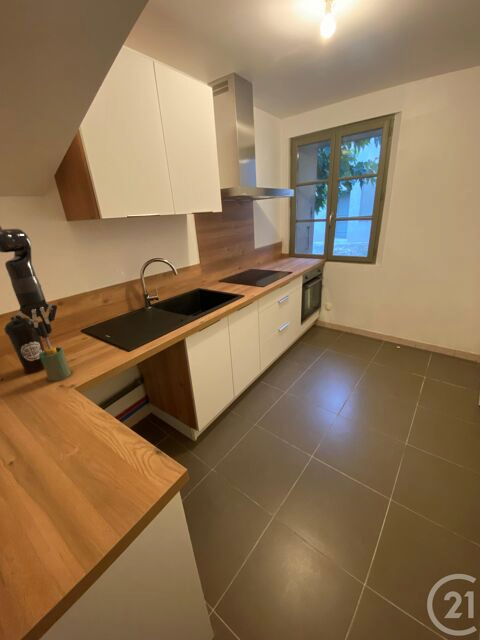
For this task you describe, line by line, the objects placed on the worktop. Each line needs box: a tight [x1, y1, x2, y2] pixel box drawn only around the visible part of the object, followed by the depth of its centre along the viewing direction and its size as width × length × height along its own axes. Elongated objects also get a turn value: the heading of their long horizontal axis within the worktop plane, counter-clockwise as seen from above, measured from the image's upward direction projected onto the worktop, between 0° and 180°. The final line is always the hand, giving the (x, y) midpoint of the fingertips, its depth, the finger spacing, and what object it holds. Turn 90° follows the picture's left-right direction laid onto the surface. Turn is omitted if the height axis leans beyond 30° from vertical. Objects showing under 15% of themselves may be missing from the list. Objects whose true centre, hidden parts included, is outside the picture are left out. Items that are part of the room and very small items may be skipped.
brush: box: [37, 320, 57, 356], centre depth 98 cm, size 3×3×16 cm
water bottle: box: [3, 316, 45, 374], centre depth 107 cm, size 10×10×23 cm
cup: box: [39, 346, 72, 382], centre depth 102 cm, size 8×8×11 cm
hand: (44, 334), depth 97 cm, fingers closed on brush, 2 cm apart
